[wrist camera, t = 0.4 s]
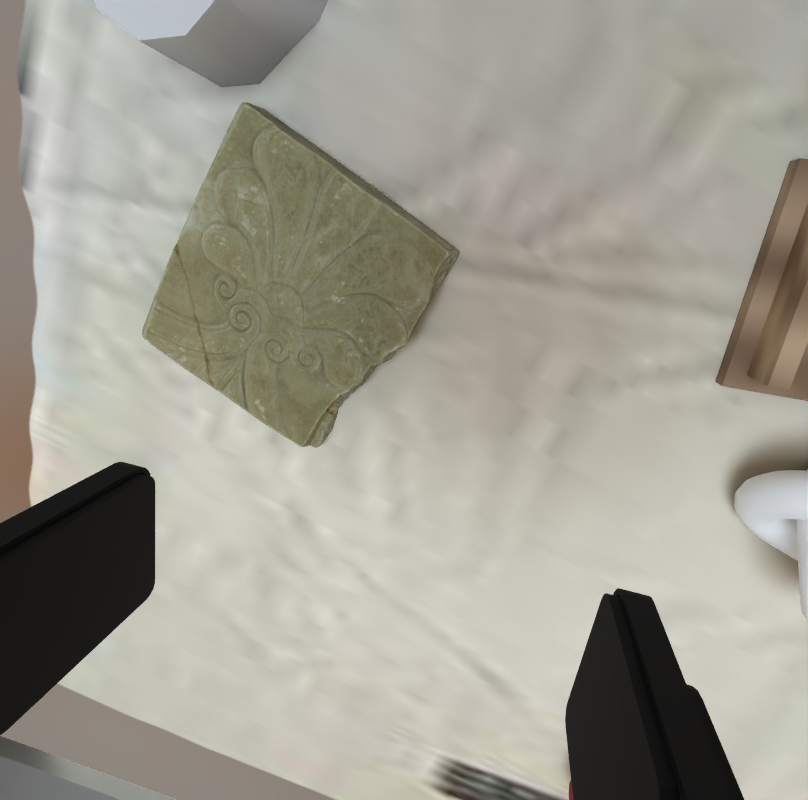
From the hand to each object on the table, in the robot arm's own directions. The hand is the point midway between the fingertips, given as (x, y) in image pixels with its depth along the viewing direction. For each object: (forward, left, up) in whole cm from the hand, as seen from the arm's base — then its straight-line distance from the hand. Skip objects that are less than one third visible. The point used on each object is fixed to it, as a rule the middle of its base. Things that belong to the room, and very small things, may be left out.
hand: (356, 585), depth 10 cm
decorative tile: (-1, -14, -30) cm, 33 cm away
